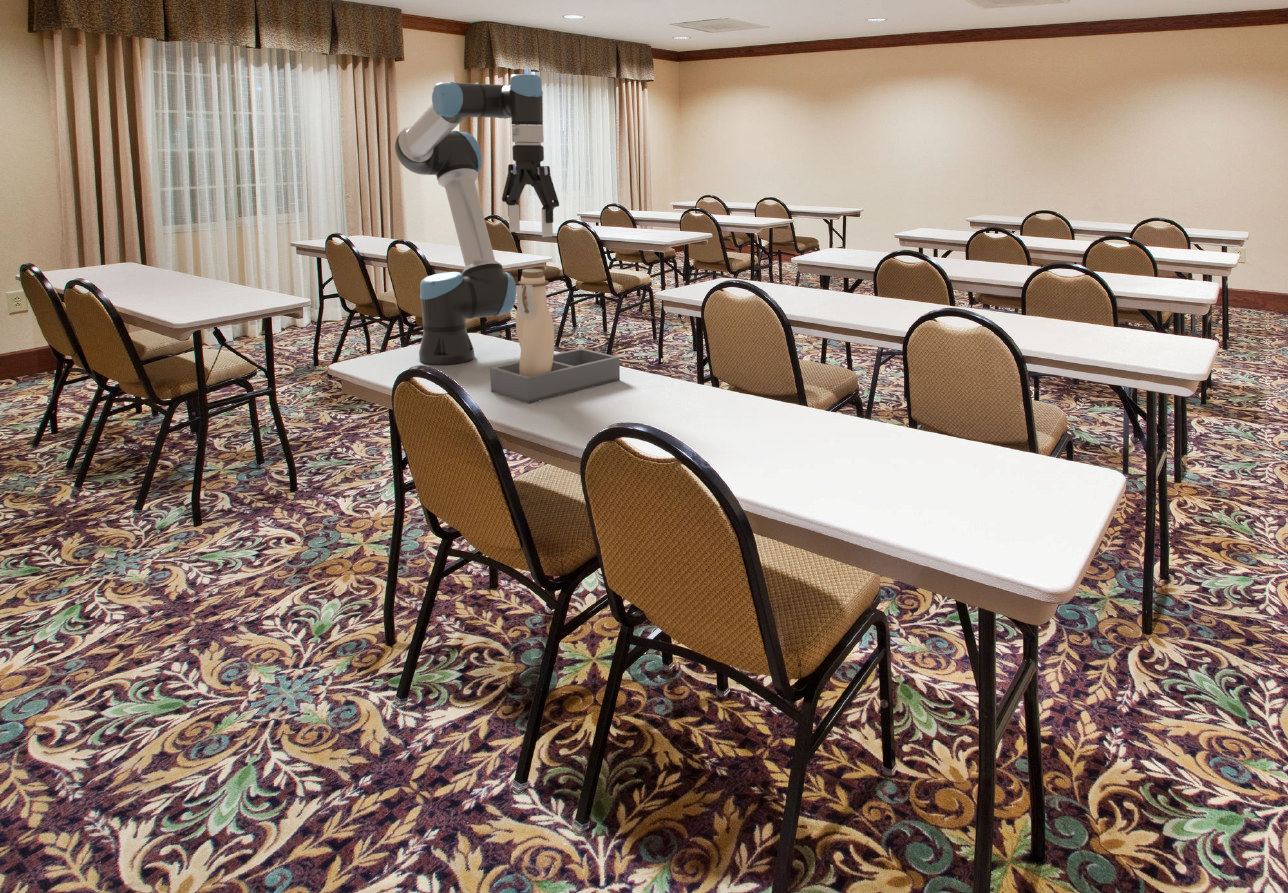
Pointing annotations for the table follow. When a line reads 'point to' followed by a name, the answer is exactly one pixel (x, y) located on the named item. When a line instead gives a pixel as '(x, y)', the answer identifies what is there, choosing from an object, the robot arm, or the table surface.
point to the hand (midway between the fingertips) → (530, 234)
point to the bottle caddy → (556, 376)
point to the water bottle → (534, 324)
